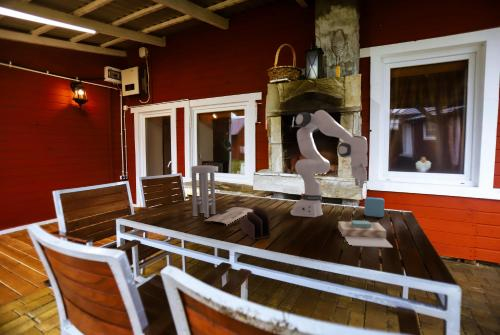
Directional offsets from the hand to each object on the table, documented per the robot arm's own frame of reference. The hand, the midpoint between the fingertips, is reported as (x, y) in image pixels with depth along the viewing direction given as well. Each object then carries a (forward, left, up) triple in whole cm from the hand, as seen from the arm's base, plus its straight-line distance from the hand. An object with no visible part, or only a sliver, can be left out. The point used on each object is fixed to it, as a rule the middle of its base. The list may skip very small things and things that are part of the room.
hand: (359, 187), depth 158 cm
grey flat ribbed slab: (-81, +11, -25) cm, 85 cm away
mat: (-1, -25, -24) cm, 35 cm away
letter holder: (-60, -19, -24) cm, 67 cm away
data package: (+16, +26, -24) cm, 39 cm away
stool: (-100, +12, -24) cm, 104 cm away
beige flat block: (-1, -11, -24) cm, 26 cm away
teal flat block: (-1, -11, -20) cm, 23 cm away
